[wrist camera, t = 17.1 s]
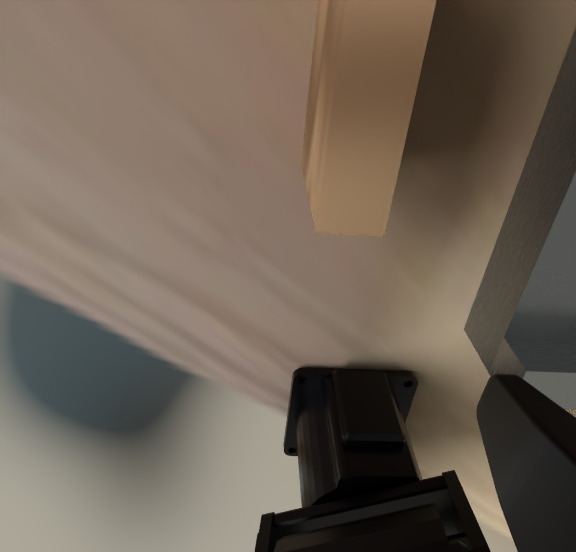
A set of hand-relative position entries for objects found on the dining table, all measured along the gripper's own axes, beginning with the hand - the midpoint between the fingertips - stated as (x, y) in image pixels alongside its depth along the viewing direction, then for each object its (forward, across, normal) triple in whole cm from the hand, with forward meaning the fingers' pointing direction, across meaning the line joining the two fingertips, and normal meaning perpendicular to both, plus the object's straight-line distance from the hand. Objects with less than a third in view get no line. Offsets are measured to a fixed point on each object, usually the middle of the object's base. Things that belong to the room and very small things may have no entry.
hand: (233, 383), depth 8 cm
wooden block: (+12, -3, -4) cm, 13 cm away
